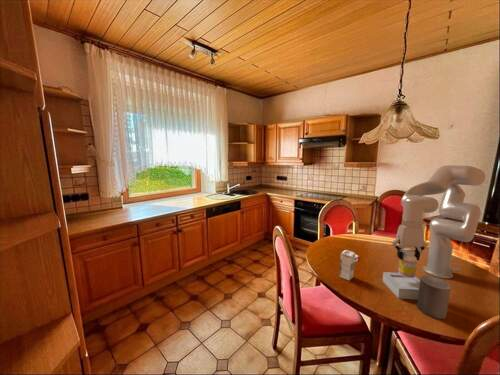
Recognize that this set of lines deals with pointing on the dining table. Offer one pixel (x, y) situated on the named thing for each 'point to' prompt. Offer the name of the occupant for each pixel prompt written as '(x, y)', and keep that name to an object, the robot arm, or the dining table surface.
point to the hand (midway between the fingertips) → (408, 258)
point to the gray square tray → (402, 285)
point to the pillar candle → (433, 296)
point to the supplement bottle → (407, 264)
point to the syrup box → (347, 265)
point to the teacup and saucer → (356, 257)
